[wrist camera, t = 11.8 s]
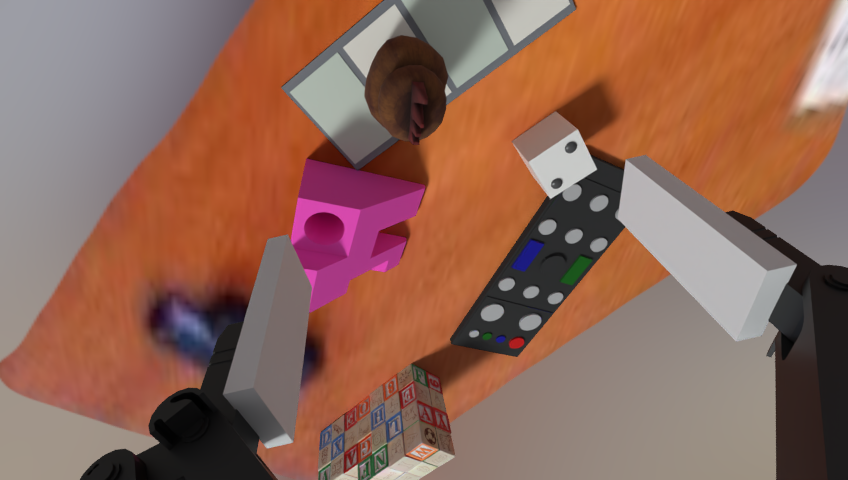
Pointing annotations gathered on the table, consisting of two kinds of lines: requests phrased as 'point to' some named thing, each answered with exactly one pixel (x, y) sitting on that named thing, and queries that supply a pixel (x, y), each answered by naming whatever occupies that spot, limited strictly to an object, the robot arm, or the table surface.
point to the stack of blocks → (390, 432)
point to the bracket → (348, 225)
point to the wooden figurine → (407, 88)
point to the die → (555, 154)
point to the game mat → (430, 22)
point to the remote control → (545, 263)
